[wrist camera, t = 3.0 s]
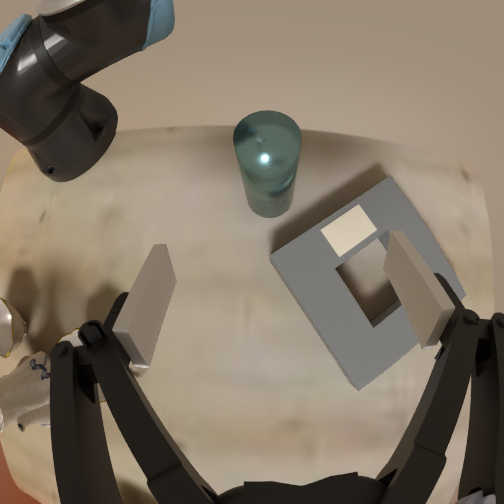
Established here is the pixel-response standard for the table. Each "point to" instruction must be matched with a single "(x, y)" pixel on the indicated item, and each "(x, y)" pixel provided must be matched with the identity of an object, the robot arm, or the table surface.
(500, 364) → the robot arm
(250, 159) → the teal cylinder
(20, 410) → the chinaware
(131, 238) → the table surface
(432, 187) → the table surface
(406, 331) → the socket block
